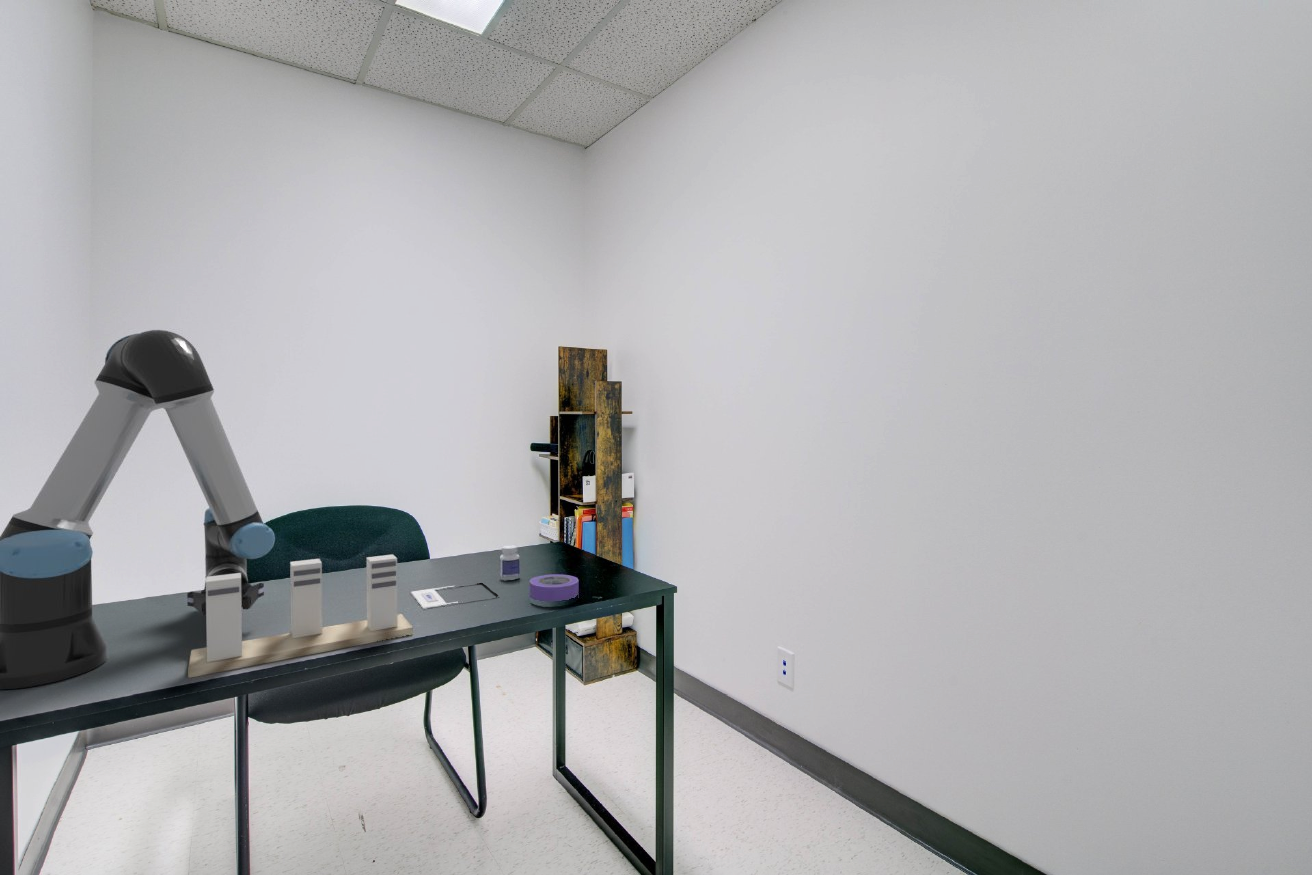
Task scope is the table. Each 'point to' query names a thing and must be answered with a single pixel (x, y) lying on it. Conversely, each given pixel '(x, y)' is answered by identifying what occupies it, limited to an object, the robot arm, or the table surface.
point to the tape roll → (554, 587)
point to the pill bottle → (509, 562)
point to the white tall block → (306, 597)
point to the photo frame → (429, 598)
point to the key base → (296, 646)
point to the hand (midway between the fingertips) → (226, 616)
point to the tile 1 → (223, 617)
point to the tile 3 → (381, 592)
